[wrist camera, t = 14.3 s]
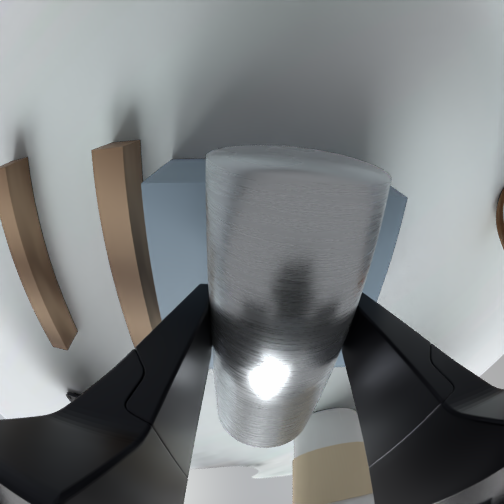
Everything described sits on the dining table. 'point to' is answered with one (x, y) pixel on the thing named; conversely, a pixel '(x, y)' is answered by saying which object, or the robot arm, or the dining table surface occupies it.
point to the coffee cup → (331, 460)
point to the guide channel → (115, 236)
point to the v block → (194, 234)
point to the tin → (500, 218)
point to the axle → (284, 278)
